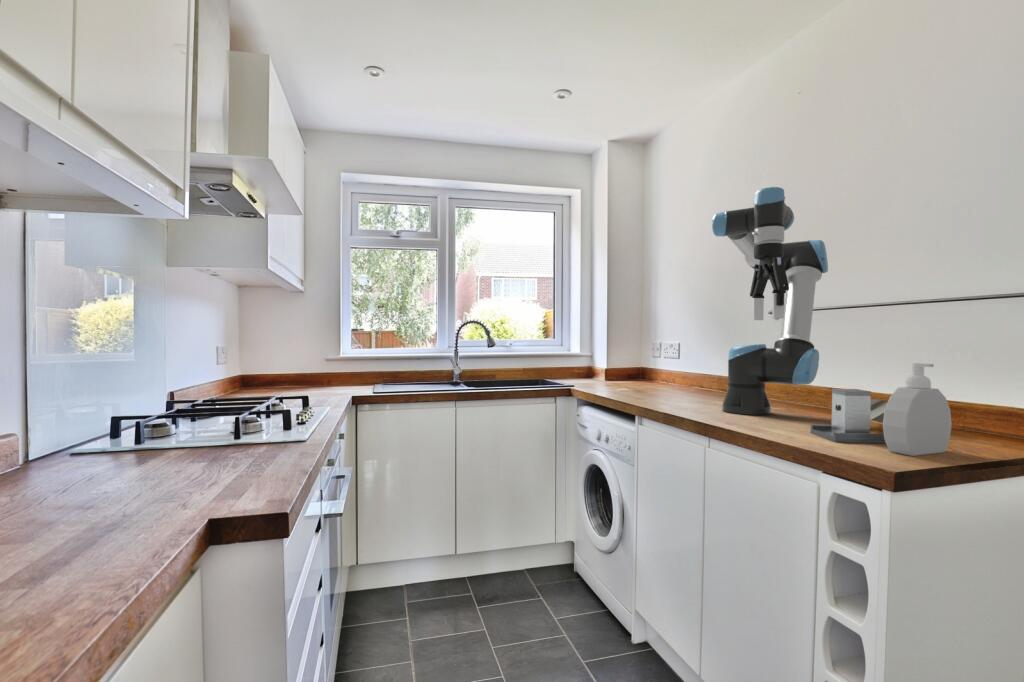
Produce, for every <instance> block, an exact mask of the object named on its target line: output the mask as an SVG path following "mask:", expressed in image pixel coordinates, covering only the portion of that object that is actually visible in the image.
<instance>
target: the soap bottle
mask: <svg viewBox="0 0 1024 682" xmlns="http://www.w3.org/2000/svg"><path fill="white" fill-rule="evenodd" d="M911 366H912V367H911V370H912V371H911V375H909V376H907V377H906V378H905V382H904V383H905V387H897V388H896V389H895V391H894V392H893V393H892V394H890V396H889V398H888V401H887V402H888V403H887V405H886V408H885V411H884V419H883V431H884V439H885V442H886V447H887V448H888V451H889V452H890V453H894V454H895V453H896V454H898V455H899V454H900V455H905V456H910V457H918V456H925V455H934V454H941V453H945V452H946V451H947V448H948V445H949V442H950V440H951V435H952V434H951V433H952V425H953V423H952V415H951V408H950V405H949V403H948V400H947V397H946V396H945V395H944V394H943V393H942V391H941V390H940V389H939V388H932V382H931V379H930V378H929V377H928V376H926V375H925V368H934V363H920V362H918V363H917V362H915V363H914V362H913V363H912V364H911Z"/></svg>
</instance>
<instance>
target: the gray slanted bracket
mask: <svg viewBox="0 0 1024 682" xmlns="http://www.w3.org/2000/svg"><path fill="white" fill-rule="evenodd" d="M887 403H888V401H887V402H886V401H885V400H884V398H874V399H872V398H871V413H870V420H873V421H877V422H881V423H883V419H884V411H885V408H886V405H887ZM829 423H831V424H832V420H831V421H829Z"/></svg>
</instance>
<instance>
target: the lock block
mask: <svg viewBox="0 0 1024 682" xmlns="http://www.w3.org/2000/svg"><path fill="white" fill-rule="evenodd" d="M871 400H872V391H871V390H865V389H859V388H831V421H832V422H831V425H832V431H834V432H839V433H870V413H871Z"/></svg>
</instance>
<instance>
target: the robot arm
mask: <svg viewBox="0 0 1024 682" xmlns="http://www.w3.org/2000/svg"><path fill="white" fill-rule="evenodd" d="M785 199H786V196H785V189H784V188H782V187H780V186H779V187H778V186H770V187H764V188H761V189H758V190H757V191H756V192H755V194H754V200H753V201H754V202H753V205H754V207H748V208H742V209H733V210H726V211H725V210H724V211H722V212H721V211H720V212H717V213H715V214H714V215H713V217H712V220H711V221H712V222H711V226H712V227H711V230H712V233H713V234H714V236H715V237H728V238H729V239H730V241H731V242H732V243H733V244H734V245H735V246H736V247H737V249H738V250H739V251H740V252H741V254H742V255H743V256H744V260H745V262H746V263H747V265H748V266H749V267H751V268H752V269H753V270H754V272H753V278H752V281H751V282H752V283H751V287H750V292H749V296H750V297H752V321H764V313H765V312H764V310H765V309H764V306H765V305H764V304H765V303H764V302H765V301H764V300H765V298H766V297H765V296H764V293H765V289H766V287H767V283H768V281H769V282H770V284H771V286H772V289H773V290H772V292H771V293H772V319H782V321H781V322H782V323H781V330H780V331H781V332H780V338H779V339H777V340H775V341H774V344H773V345H774V346H773V347H771V348H770V347H769V348H768V347H767V346H766V345H767V344H765V343H758V344H749V345H748V344H747V345H739V346H738V345H737V346H734V347H731V348H729V351H728V359H727V363H728V365H727V366H728V367H727V370H728V371H727V373H728V374H727V390H726V394H725V396H724V399H723V402H722V407H721V408H722V411H723V412H726V413H731V414H740V415H752V416H754V415H755V416H759V415H761V416H762V415H763V416H764V415H770V414H771V413H772V412H771V410H772V408H771V404H770V401H769V398H768V395H767V392H766V383H768V384H769V383H770V384H781V385H782V384H784V385H794V386H799V385H805V386H806V385H811V384H812V383H813V382H814V381H815V378H816V377H817V374H818V370H819V362H820V352H819V350H818V349H816V348H815V345H814V344H813V342H812V341H810V340H811V331H812V330H811V329H812V323H813V322H812V321H813V310H814V304H815V303H814V302H815V295H816V293H815V292H816V284H817V282H819V281H820V280H821V279H822V275H823V274H825V273H828V271H829V263H828V262H829V261H828V256H827V249H826V244H825V242H824V241H823V240H820V239H813V240H811V239H809V240H803V241H792V242H785V231H787V230H788V229H789V228H791V227H792V225H793V223H794V221H795V215H794V211H793V210H792V208H791V207H790V206H789V205H787V204H786V203H785ZM784 242H785V243H784Z"/></svg>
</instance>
